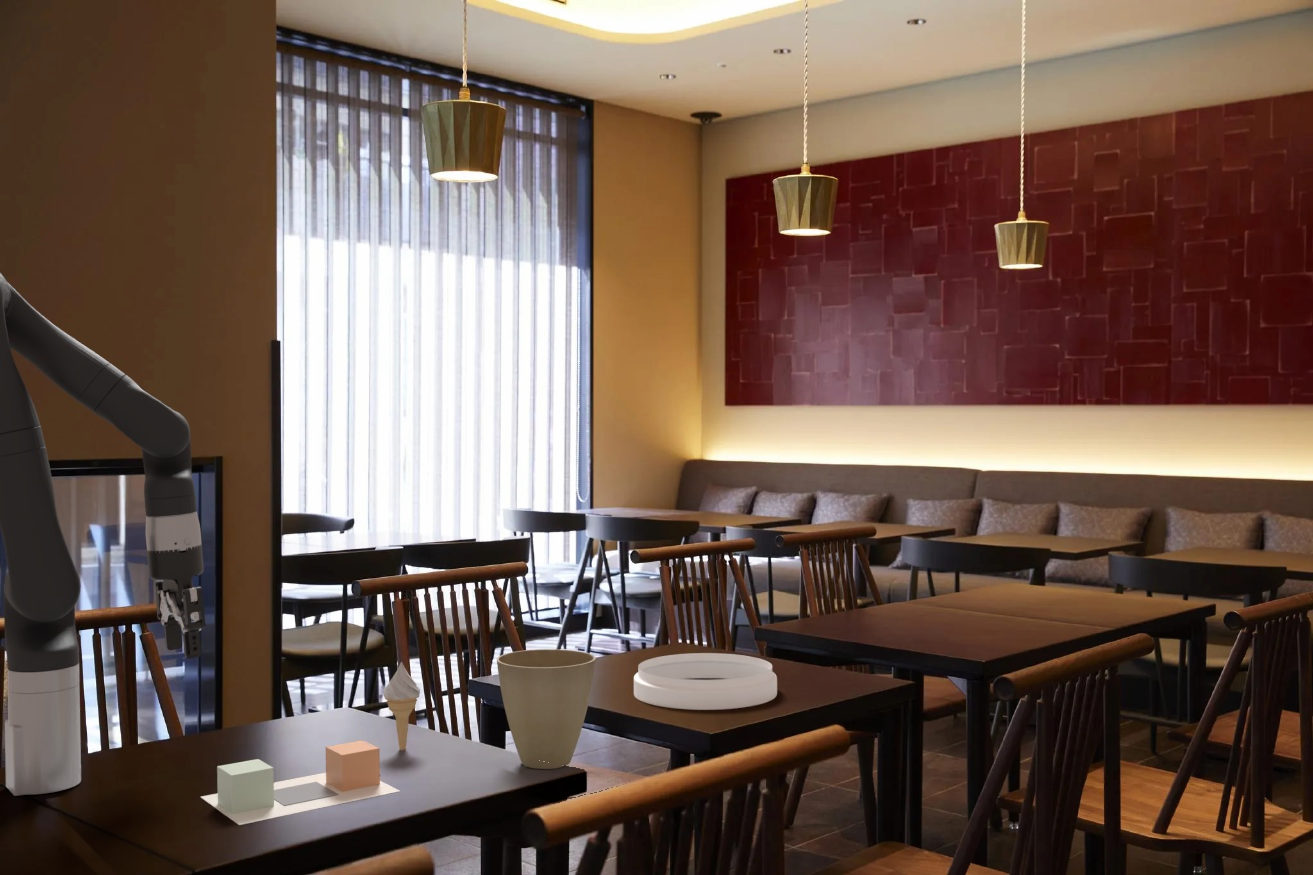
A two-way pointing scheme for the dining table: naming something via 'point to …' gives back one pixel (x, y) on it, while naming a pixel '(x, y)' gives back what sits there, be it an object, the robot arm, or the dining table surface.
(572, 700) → the plant pot
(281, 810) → the baseplate
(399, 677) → the ice cream cone
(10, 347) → the robot arm
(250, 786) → the sage brick
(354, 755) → the terracotta brick
